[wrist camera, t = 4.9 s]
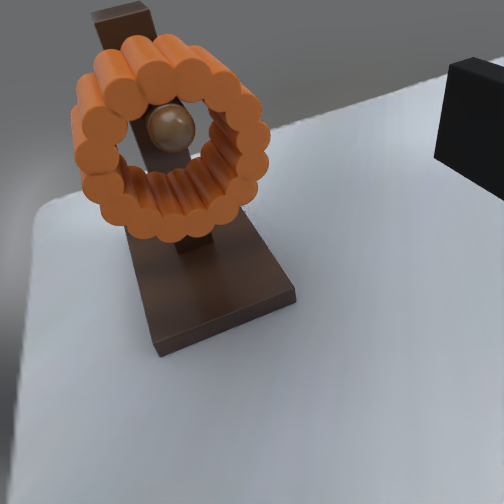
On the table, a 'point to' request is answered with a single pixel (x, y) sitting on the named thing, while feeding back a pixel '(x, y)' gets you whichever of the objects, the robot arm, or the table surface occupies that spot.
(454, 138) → the robot arm
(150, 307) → the stand
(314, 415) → the table surface
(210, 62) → the tape roll
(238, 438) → the table surface
